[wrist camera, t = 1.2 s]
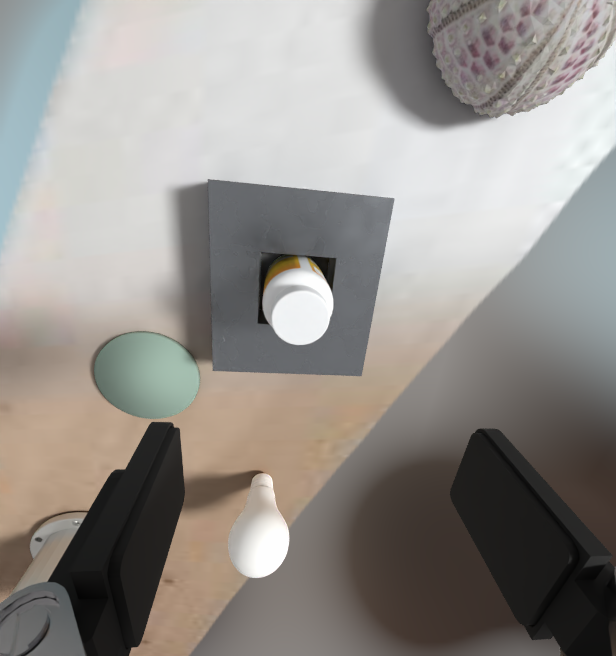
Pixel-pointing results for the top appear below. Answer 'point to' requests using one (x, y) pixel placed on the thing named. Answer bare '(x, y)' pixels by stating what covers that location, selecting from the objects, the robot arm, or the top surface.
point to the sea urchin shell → (517, 48)
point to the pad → (147, 375)
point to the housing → (296, 239)
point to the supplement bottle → (297, 299)
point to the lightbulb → (259, 532)
